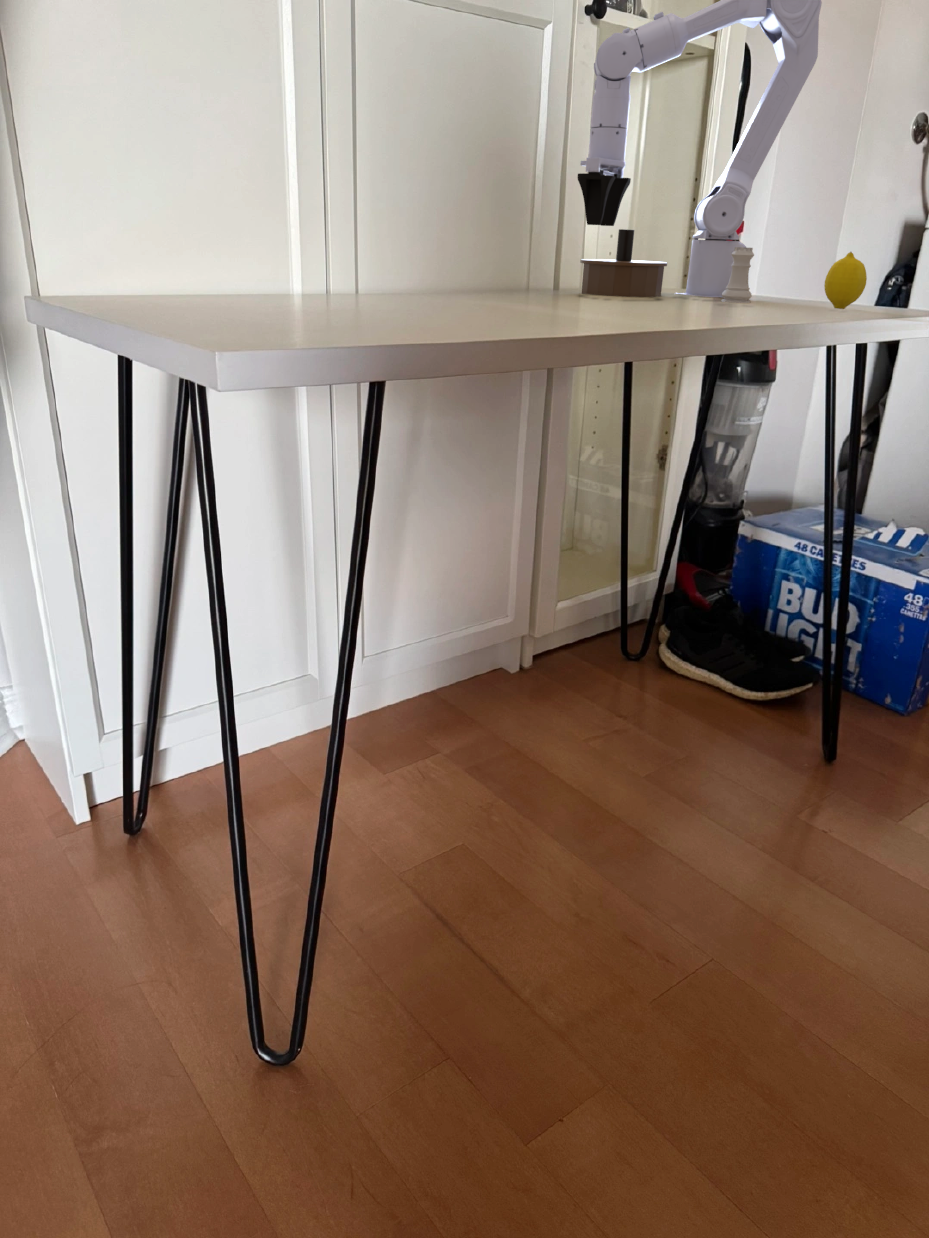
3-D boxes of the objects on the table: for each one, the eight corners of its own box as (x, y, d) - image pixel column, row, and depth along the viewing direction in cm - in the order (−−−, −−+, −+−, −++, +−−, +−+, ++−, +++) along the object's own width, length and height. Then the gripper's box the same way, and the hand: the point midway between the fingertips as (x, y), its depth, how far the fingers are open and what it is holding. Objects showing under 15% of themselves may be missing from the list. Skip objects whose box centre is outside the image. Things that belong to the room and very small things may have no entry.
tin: (620, 294, 148) (623, 262, 146) (676, 300, 139) (680, 266, 137) (565, 295, 142) (567, 262, 140) (620, 301, 132) (623, 266, 131)
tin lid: (622, 266, 147) (626, 230, 145) (684, 271, 137) (689, 231, 135) (562, 266, 140) (564, 227, 138) (622, 270, 130) (626, 229, 128)
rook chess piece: (743, 304, 134) (752, 247, 131) (755, 307, 130) (764, 248, 127) (715, 304, 133) (723, 246, 130) (726, 306, 129) (735, 247, 126)
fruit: (867, 311, 129) (879, 252, 126) (848, 312, 125) (860, 252, 122) (831, 308, 133) (842, 251, 129) (812, 309, 129) (823, 250, 126)
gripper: (597, 134, 144) (589, 225, 149) (569, 124, 132) (562, 224, 137) (639, 134, 141) (630, 226, 147) (615, 123, 129) (606, 225, 135)
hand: (600, 225), depth 142 cm, fingers open, 7 cm apart
